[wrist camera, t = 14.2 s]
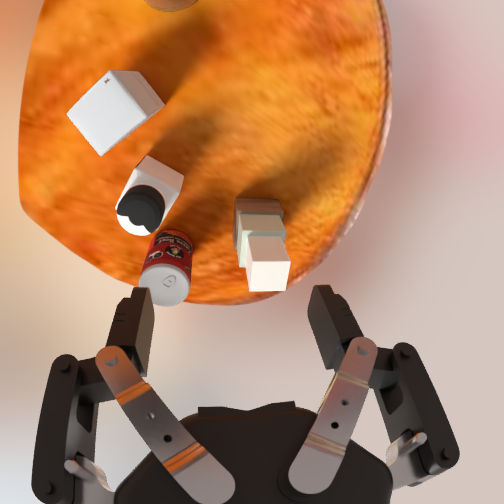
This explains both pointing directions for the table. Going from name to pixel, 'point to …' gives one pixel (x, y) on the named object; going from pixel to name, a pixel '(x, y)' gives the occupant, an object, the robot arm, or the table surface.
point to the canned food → (168, 268)
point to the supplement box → (114, 108)
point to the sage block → (257, 230)
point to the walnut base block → (254, 211)
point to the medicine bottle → (148, 196)
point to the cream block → (266, 263)
